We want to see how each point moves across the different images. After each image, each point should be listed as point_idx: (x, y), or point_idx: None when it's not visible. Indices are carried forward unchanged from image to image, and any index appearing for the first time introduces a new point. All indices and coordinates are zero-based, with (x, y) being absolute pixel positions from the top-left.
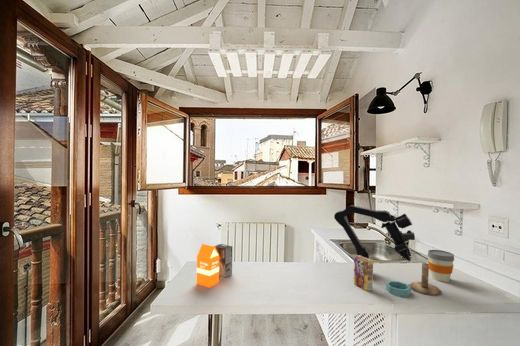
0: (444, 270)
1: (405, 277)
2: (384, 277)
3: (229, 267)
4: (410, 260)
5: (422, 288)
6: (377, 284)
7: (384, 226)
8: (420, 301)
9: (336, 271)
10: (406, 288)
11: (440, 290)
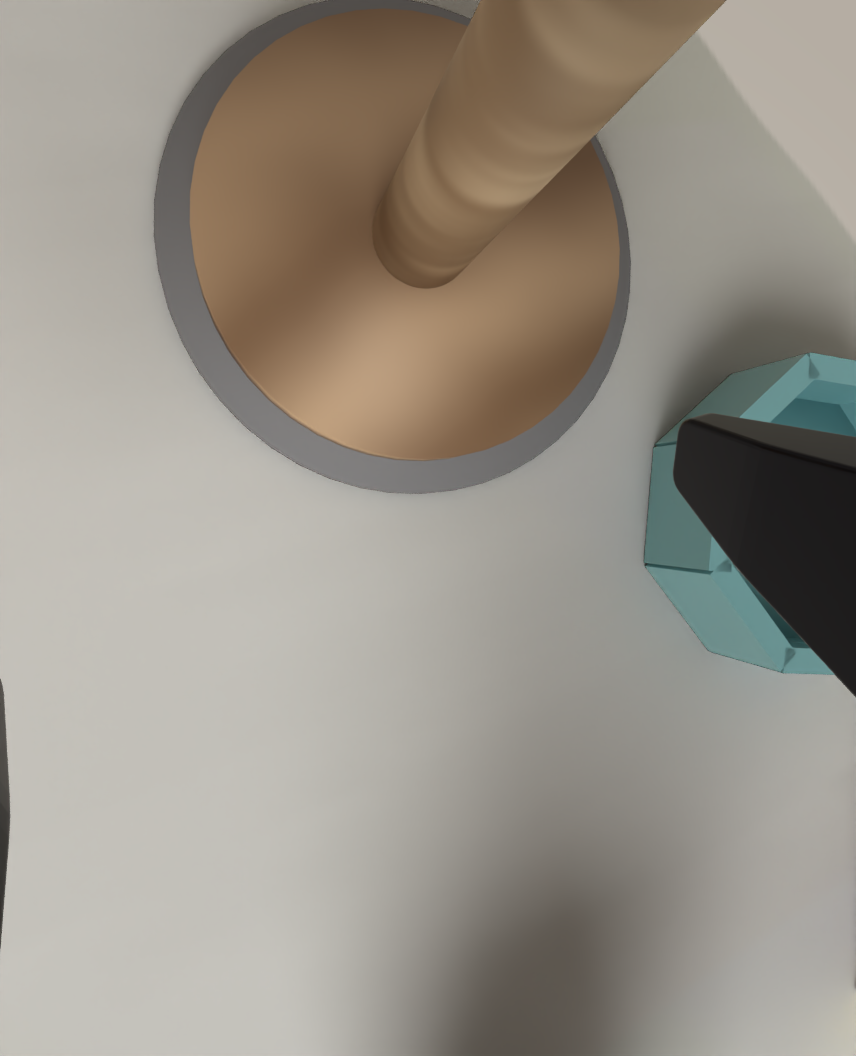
0: None
1: (58, 661)
2: (383, 902)
3: None
4: (711, 417)
5: (505, 256)
6: (725, 820)
7: None
8: (816, 233)
9: None
10: None
11: (266, 24)
